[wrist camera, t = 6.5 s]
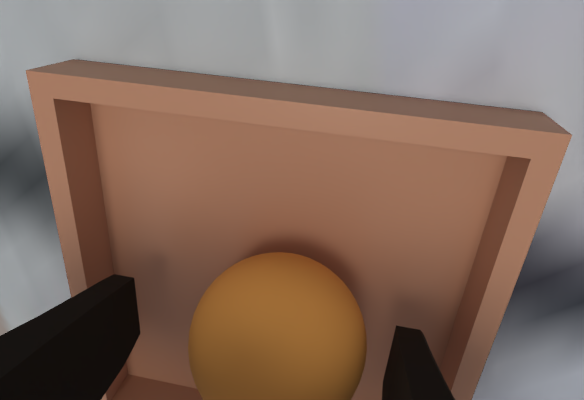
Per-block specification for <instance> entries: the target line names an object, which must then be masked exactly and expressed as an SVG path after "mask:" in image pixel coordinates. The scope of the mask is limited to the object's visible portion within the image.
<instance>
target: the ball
mask: <svg viewBox="0 0 584 400" xmlns="http://www.w3.org/2000/svg"><path fill="white" fill-rule="evenodd" d="M366 353H367V339H366V329H365V325H364V320H363V316H362V313H361V311H360V308H359V306H358V304H357V302H356V299H355V298H354V296H353V295H352V293H351V291H350V290H349V289H348V287H347V286H346V285H345V283H344V282H343V281H342V280H341V279H340V278H339V277H338V276H337V275H336V274H335V273H333V272H332V271H331V270H330V269H329V268H327V267H326V266H324V265H322V264H321V263H319V262H317V261H315V260H313V259H311V258H308V257H305V256H302V255H298V254H293V253H284V252H272V253H264V254H259V255H255V256H252V257H249V258H246V259H244V260H242V261H240V262H238V263H236V264H234V265H233V266H231V267H230V268H228V269H227V270H225V271H224V272H223V273H222V274H221V275H219V276H218V277H217V278H216V279H215V280H214V281H213V283H212V284H211V285H210V286H209V287H208V289H207V290H206V291H205V293H204V294H203V296H202V297H201V299H200V301H199V303H198V306H197V308H196V310H195V312H194V315H193V319H192V323H191V326H190V330H189V342H188V354H189V363H190V369H191V372H192V376H193V379H194V382H195V385H196V387H197V389H198V391H199V393H200V395H201V397H202V399H203V400H351V398H352V397H353V395H354V393H355V391H356V389H357V387H358V385H359V383H360V380H361V377H362V374H363V370H364V367H365V361H366Z"/></svg>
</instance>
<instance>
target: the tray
mask: <svg viewBox="0 0 584 400" xmlns="http://www.w3.org/2000/svg"><path fill="white" fill-rule="evenodd" d="M26 74H27V79H28V84H29V89H30V94H31V99H32V104H33V109H34V114H35V119H36V124H37V129H38V134H39V139H40V144H41V149H42V154H43V159H44V164H45V169H46V174H47V179H48V183H49V188H50V193H51V198H52V203H53V208H54V213H55V218H56V223H57V228H58V233H59V238H60V243H61V248H62V253H63V258H64V263H65V268H66V273H67V278H68V283H69V288H70V293H71V298H72V297H74V296H75V295H77V294H79V293H81V292H82V291H84V290H86V289H88V288H89V287H91V286H93V285H95V284H96V283H98V282H100V281H102V280H104V279H105V278H107V277H109V276H111V275H113V274H116V275H122V276H127V277H133V278H134V280H135V289H136V298H137V306H138V315H139V324H140V332H141V333H140V335H139V337H138V339H137V341H136V343H135V345H134V347H133V349H132V351H131V353H130V355H129V357H128V359H127V361H126V363H125V364H124V366H123V368H122V369H121V371H120V372H119V374H118V375H117V377H116V378H115V380H114V381H113V383H112V384H111V386H110V387H109V389H108V390H107V392H106V393H105V394H104V396H103V397H102V399H101V400H203V399H202V397H201V395H200V393H199V391H198V389H197V387H196V385H195V382H194V379H193V376H192V372H191V369H190V363H189V354H188V342H189V330H190V326H191V323H192V319H193V315H194V312H195V310H196V308H197V306H198V303H199V301H200V299H201V297H202V296H203V294H204V293H205V291H206V290H207V289H208V287H209V286H210V285H211V284H212V283H213V281H214V280H215V279H216V278H217V277H218V276H219V275H221V274H222V273H223V272H224V271H225V270H227V269H228V268H230V267H231V266H233V265H234V264H236V263H238V262H240V261H242V260H244V259H246V258H249V257H252V256H255V255H259V254H264V253H272V252H284V253H293V254H298V255H302V256H305V257H308V258H311V259H313V260H315V261H317V262H319V263H321V264H322V265H324V266H326V267H327V268H329V269H330V270H331V271H332V272H333V273H335V274H336V275H337V276H338V277H339V278H340V279H341V280H342V281H343V282H344V283H345V285H346V286H347V287H348V289H349V290H350V291H351V293H352V295H353V296H354V298H355V299H356V302H357V304H358V306H359V308H360V311H361V313H362V316H363V320H364V325H365V329H366V339H367V353H366V361H365V367H364V370H363V374H362V377H361V380H360V383H359V385H358V387H357V389H356V391H355V393H354V395H353V397H352V398H351V400H382V387H383V378H384V374H385V370H386V366H387V362H388V357H389V353H390V349H391V345H392V341H393V336H394V332H395V328H396V325H397V326H402V327H408V328H413V329H419V330H421V331H422V332H423V334H424V336H425V338H426V341H427V343H428V346H429V348H430V350H431V352H432V355H433V357H434V359H435V361H436V363H437V365H438V367H439V369H440V371H441V374H442V376H443V378H444V380H445V382H446V383H447V385H448V387H449V389H450V391H451V393H452V395H453V397H454V398H455V400H472V397H473V394H474V392H475V389H476V386H477V384H478V381H479V378H480V376H481V373H482V371H483V368H484V365H485V363H486V360H487V357H488V355H489V352H490V350H491V347H492V344H493V342H494V339H495V336H496V334H497V331H498V329H499V326H500V323H501V321H502V318H503V315H504V313H505V310H506V307H507V305H508V302H509V300H510V297H511V294H512V292H513V289H514V286H515V284H516V281H517V279H518V276H519V273H520V271H521V268H522V265H523V263H524V260H525V257H526V255H527V252H528V250H529V247H530V244H531V242H532V239H533V236H534V234H535V231H536V229H537V226H538V223H539V221H540V218H541V215H542V213H543V210H544V208H545V205H546V202H547V200H548V197H549V194H550V192H551V189H552V186H553V184H554V181H555V179H556V176H557V173H558V171H559V168H560V165H561V163H562V160H563V158H564V155H565V152H566V150H567V147H568V144H569V142H570V139H571V136H572V135H571V134H570V133H569V132H567V131H566V130H565V129H564V128H562V127H561V126H560V125H558V124H557V123H556V122H554V121H553V120H552V119H551V118H549V117H548V116H547V115H545V114H544V113H543V112H535V111H526V110H518V109H509V108H500V107H491V106H482V105H473V104H464V103H456V102H447V101H438V100H429V99H420V98H411V97H402V96H393V95H385V94H376V93H367V92H358V91H349V90H340V89H331V88H322V87H314V86H305V85H296V84H287V83H278V82H269V81H260V80H251V79H243V78H234V77H225V76H216V75H207V74H198V73H189V72H181V71H172V70H163V69H154V68H145V67H136V66H127V65H118V64H110V63H101V62H92V61H83V60H74V59H73V60H69V61H64V62H60V63H56V64H51V65H47V66H43V67H38V68H34V69H30V70H26Z"/></svg>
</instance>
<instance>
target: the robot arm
mask: <svg viewBox="0 0 584 400" xmlns="http://www.w3.org/2000/svg"><path fill="white" fill-rule="evenodd" d="M140 333H141V332H140V324H139V315H138V306H137V298H136V289H135V280H134V278H133V277H127V276H122V275H116V274H113V275H111V276H109V277H107V278H105V279H104V280H102V281H100V282H98V283H96V284H95V285H93V286H91V287H89V288H88V289H86V290H84V291H82V292H81V293H79V294H77V295H75V296H74V297H72V298H70V299H68V300H66V301H65V302H63V303H61V304H59V305H58V306H56V307H54V308H52V309H50V310H49V311H47V312H45V313H43V314H42V315H40V316H38V317H36V318H34V319H32V320H30V321H28V322H26V323H24V324H22V325H20V326H19V327H17V328H15V329H13V330H11V331H9V332H7V333H5V334H3V335H1V336H0V400H101V399H102V397H103V396H104V394H105V393H106V392H107V390H108V389H109V387H110V386H111V384H112V383H113V381H114V380H115V378H116V377H117V375H118V374H119V372H120V371H121V369H122V368H123V366H124V364H125V363H126V361H127V359H128V357H129V355H130V353H131V351H132V349H133V347H134V345H135V343H136V341H137V339H138V337H139V335H140ZM382 400H455V398H454V397H453V395H452V393H451V391H450V389H449V387H448V385H447V383H446V382H445V380H444V378H443V376H442V374H441V371H440V369H439V367H438V365H437V363H436V361H435V359H434V357H433V355H432V352H431V350H430V348H429V346H428V343H427V341H426V338H425V336H424V334H423V332H422V331H421V330H419V329H413V328H408V327H402V326H397V325H396V328H395V332H394V336H393V341H392V345H391V349H390V353H389V357H388V362H387V366H386V370H385V374H384V378H383V387H382Z"/></svg>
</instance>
